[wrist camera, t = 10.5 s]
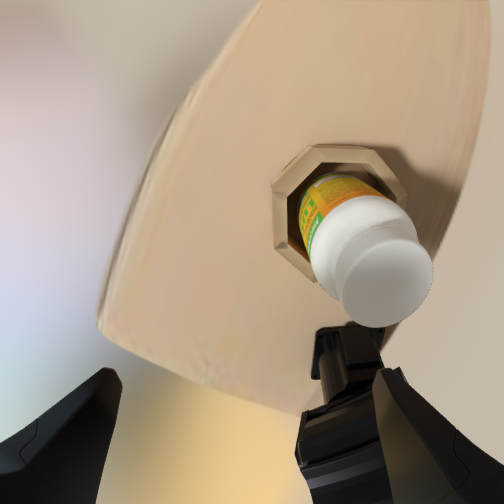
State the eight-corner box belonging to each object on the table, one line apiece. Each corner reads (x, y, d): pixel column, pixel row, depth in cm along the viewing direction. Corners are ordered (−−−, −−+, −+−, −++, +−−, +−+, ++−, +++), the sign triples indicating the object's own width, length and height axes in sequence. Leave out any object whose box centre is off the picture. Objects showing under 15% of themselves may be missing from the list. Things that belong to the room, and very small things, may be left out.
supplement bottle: (288, 178, 18) (313, 235, 9) (367, 165, 17) (452, 209, 8) (302, 253, 20) (327, 353, 11) (374, 239, 19) (438, 323, 10)
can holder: (381, 257, 20) (396, 277, 18) (273, 262, 21) (275, 284, 18) (390, 147, 17) (410, 152, 14) (269, 145, 17) (270, 148, 15)
